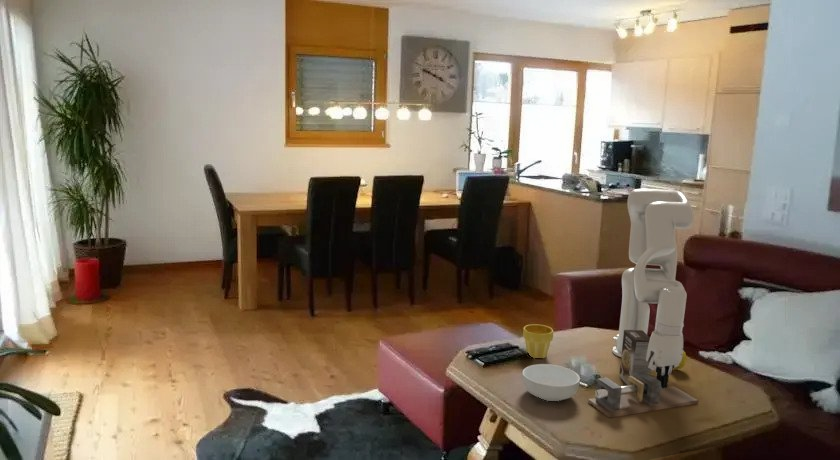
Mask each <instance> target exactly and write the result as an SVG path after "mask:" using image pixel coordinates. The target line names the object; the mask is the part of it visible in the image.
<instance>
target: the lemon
mask: <svg viewBox="0 0 840 460" xmlns="http://www.w3.org/2000/svg"><path fill="white" fill-rule="evenodd" d="M686 364H687V354H686V352H685V351H684V350H683V355H682V360H681V362H680V363H679V366H677V367H675V368H673V369H674V370H675V371H678V370H680V369H682V368H684V367H685V365H686Z"/></svg>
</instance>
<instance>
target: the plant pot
mask: <svg viewBox="0 0 840 460" xmlns="http://www.w3.org/2000/svg"><path fill="white" fill-rule="evenodd" d="M522 331H523V332H522V337H523V339H524V342H525V349H526V353H527V352H528V353H529V355H530V356H531V357H533V359H535V358H543V359H546V357H547V355H548V351H549V349H550V344H551V342H552V341H553V338H554V330H553V328H552V327H550V326H548V325H545V324H537V323H535V324H534V323H533V324H526V325H525V326H524V327H523V330H522ZM531 357H530V358H531Z"/></svg>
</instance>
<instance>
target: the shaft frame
mask: <svg viewBox="0 0 840 460" xmlns="http://www.w3.org/2000/svg"><path fill="white" fill-rule="evenodd" d="M633 383H634V384H636V385H637V386H638V391H637V393H631V394H625V395H621V390H622V387H621V386H620V384H617V383H616V382H614V381H613V380H611V379H610V378H608V377H601V378H597V383H596V390H600V389H607V390H608V397H605V398H597V397H596V396H595V397H593V398H588V400H587V402H589V404H590V405H591V404H592V405H593V408H595V407H596V408H597V409H596V408H595V409H596V410H598V411H599V410H600V411H599V412H601V413H602V414H603V413H604V414H603V415H604V416H606V417H607V416H608V417H607V418H609V419H611V418H610V417H612V418H617V417H624V416H629V415H634V414H635V415H636V414H641V413H647V412H653V411H659V410H664V409H665V410H666V409H671V408H672V409H673V408H678V407H683V406H689V405H695V404H698V401H699V400H698V399H696V398H695V397H693V396H692V395H690V394H688V393H686V392H685V391H682V390H681V389H679V388H678V387H676V386H674V385H671V386H667V388H661V391H660V386H661V381H659V380H657V379H656V377H654V376H652V375H651V374H650V375H649V374H647V373H645V372H642V373H637V375H636V378H634V377H633V376H629V378H628V385H633ZM644 383H646V384H648V387H647V391H645V392H643V389H644ZM592 405H591V406H592Z"/></svg>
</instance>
